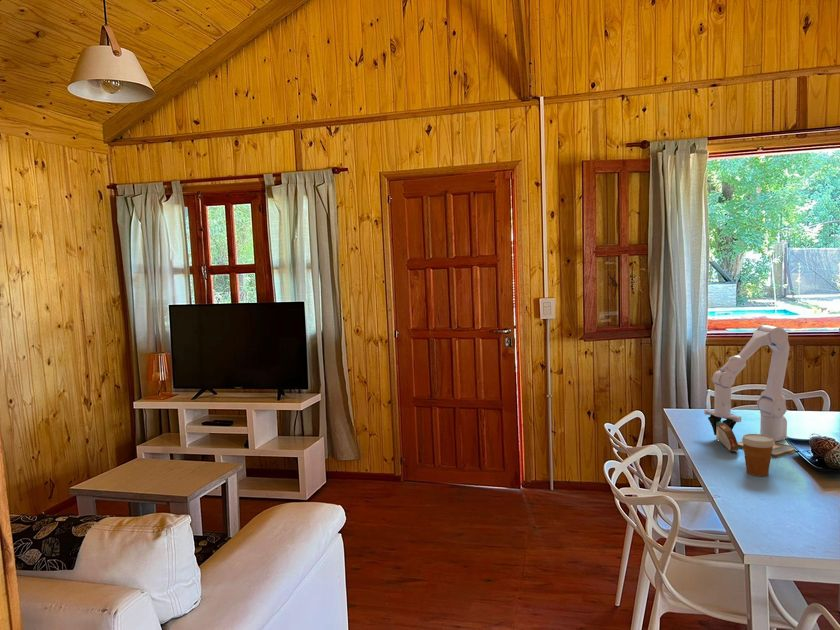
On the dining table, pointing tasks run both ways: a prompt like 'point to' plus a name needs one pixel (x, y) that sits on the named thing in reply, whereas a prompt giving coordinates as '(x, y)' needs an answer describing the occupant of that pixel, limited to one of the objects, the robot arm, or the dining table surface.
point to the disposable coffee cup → (757, 453)
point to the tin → (727, 437)
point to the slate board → (776, 449)
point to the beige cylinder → (717, 430)
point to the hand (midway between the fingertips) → (722, 436)
